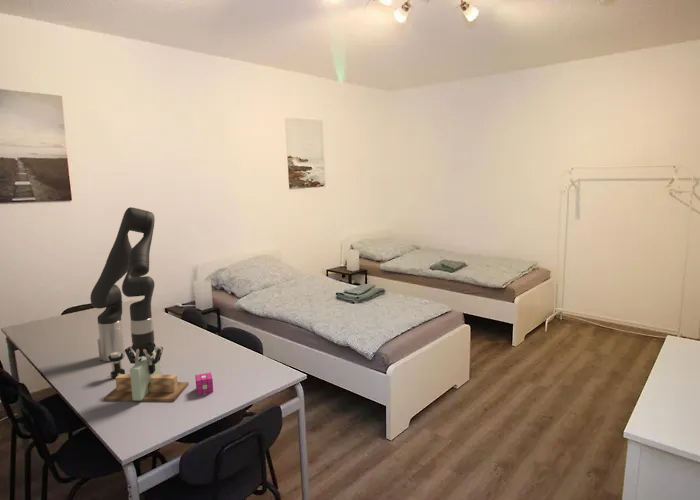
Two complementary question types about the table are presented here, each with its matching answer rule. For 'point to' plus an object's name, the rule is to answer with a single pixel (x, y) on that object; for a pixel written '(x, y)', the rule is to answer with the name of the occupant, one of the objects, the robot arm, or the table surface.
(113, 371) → the push button
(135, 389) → the sage slotted plate
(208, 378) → the puzzle toy
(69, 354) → the table surface
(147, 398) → the oak slotted rail
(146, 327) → the robot arm
